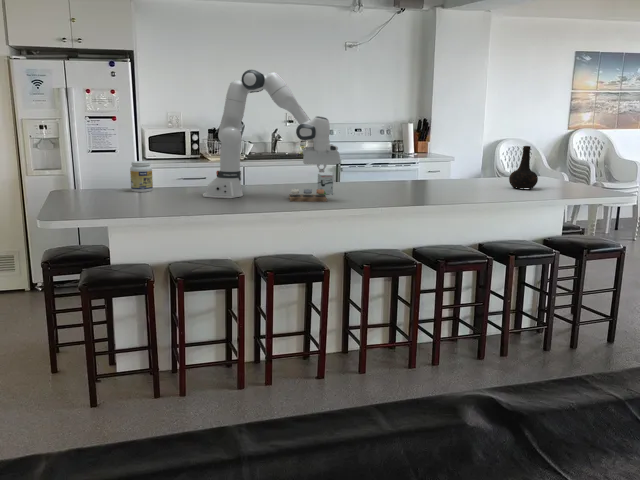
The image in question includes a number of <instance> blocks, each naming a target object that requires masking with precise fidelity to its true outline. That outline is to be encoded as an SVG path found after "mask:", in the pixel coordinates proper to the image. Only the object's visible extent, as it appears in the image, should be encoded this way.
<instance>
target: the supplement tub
mask: <svg viewBox="0 0 640 480" xmlns="http://www.w3.org/2000/svg"><path fill="white" fill-rule="evenodd" d="M129 171H130V174H129V175H130V189H131V192H136V193H147V192H152V191H153V189H154V188H153V186H154V185H153V183H154V181H153V180H154V179H153V168H152V166H151V161H147V160H137V161H136V160H134V161H131V167H130V169H129Z"/></svg>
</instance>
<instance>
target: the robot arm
mask: <svg viewBox="0 0 640 480" xmlns="http://www.w3.org/2000/svg"><path fill="white" fill-rule="evenodd" d="M264 90H265V91H266V93H268V95H269V96H270V98H271V100H272V101H273V102H274V103H275V105H276V106H277V107H279V108H280V109H283V110H286V111H287V112H289V113H290V114H291V115H292V116H293V118H294V120H296V121H297V123H298V126H297V127H296V128H295V129H296V130H295V134H296V136H297V138H298V139H299V140H301V141H303V142H304V141H305V142H306V141H313V146H306V147H304V148H303V149H302V155H303V156H302V157H303V158H302V159H303V161H302V163H303V164H304V165H316V167H317V168H318V173H325V169H326V168H327V165H339V164H340V163H341V155H340V153H339V151H338V150H339V147H338V146H337V145H334V144H331V142H330V141H331V140H330V134H331V130H330V129H331V128H330V121H329V119H328V118H327V117H324V116H317V115H316V116H314V117H313V118H312V119H311V118H309V116H308V115H307V113H306V112H305V111H304V109H303V108H302V106H301V105H300V104H299V102H298V100H297V99H296V97H295V96H294V94H293V92H292V90H291V89H290V87H289V85H287V83H286V81H285V80H284V79H283V78H282V77H281V76H280V75H279V73H277V72H274V71H271V72H269V73H267V74H265V75H264V73H262V72H260V71H258V70H255V69H247V70H245V71H244V72H243V73H242V75H241V80H239V79H236V80H235V79H234V80H232V81H231V82H230V83H229V85H228V88H227V92H226V96H225V103H224V107H223V112H222V113H223V114H222V117H221V121H220V124H219V129H218V134H217V137H218V140H219V141H220V154H219V167H220V168H219V170H216V171H215V172H216V178H214V179H213V180H212V181H211V182H209V183H208V184H207V188H206V192H203V194H202V196H203V198H216V199H218V198H219V199H232V198H238V197H239V198H240V197H241V198H242V197H243V196H244V194H243V189H242V184H241V183H242V181H241V180H242V171H241V150H242V138H243V137H242V132H241V130H240V128H241V124H242V122H243V118H244V117H245V116H244V113H245V109H246V102H247V98H248V95H249V94H251V93H252V94H253V93H259V92H262V91H264ZM320 165H323V168H320Z"/></svg>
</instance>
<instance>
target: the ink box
mask: <svg viewBox="0 0 640 480" xmlns="http://www.w3.org/2000/svg"><path fill="white" fill-rule="evenodd" d="M316 189H324V194H323V195H333V194H334V174H333V173H325V172H318V173H317V187H316Z"/></svg>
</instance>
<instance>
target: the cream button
mask: <svg viewBox="0 0 640 480" xmlns="http://www.w3.org/2000/svg"><path fill="white" fill-rule="evenodd" d="M290 194H300V189H299V188H290Z"/></svg>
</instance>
